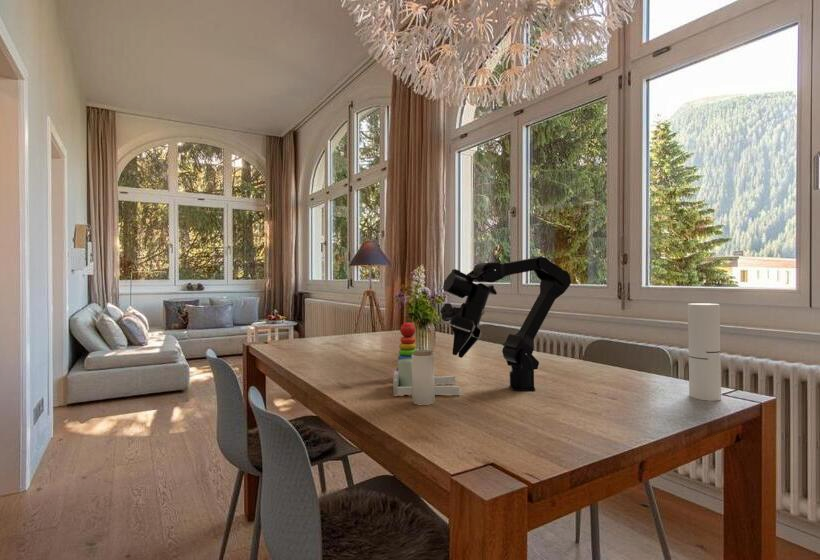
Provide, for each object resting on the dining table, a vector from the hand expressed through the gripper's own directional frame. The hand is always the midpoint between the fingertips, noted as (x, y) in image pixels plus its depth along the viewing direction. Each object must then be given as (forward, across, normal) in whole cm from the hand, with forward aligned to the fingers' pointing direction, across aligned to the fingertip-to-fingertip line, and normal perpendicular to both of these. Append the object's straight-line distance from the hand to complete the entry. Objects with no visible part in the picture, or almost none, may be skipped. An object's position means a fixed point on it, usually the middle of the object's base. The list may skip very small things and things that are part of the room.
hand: (457, 356), depth 125 cm
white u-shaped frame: (+13, -8, -7) cm, 16 cm away
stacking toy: (+13, -20, -17) cm, 29 cm away
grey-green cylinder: (+14, -6, -12) cm, 20 cm away
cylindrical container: (-12, -16, +64) cm, 67 cm away
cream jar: (+15, +5, -4) cm, 16 cm away
